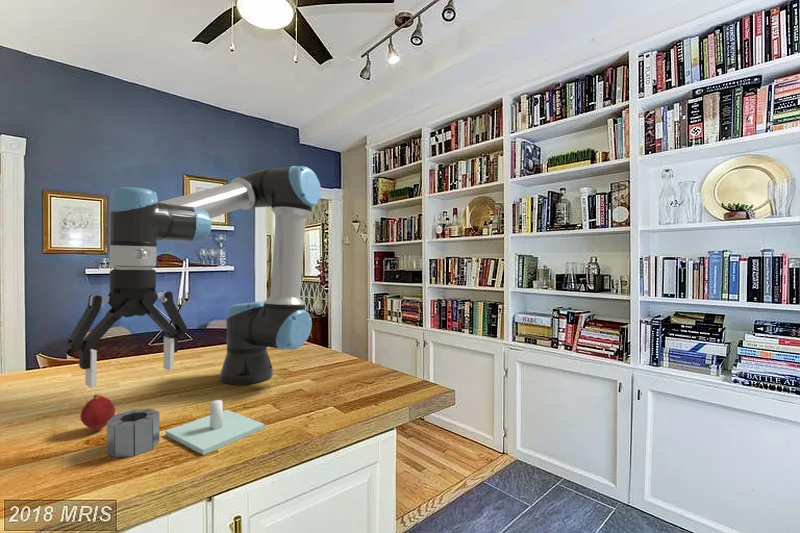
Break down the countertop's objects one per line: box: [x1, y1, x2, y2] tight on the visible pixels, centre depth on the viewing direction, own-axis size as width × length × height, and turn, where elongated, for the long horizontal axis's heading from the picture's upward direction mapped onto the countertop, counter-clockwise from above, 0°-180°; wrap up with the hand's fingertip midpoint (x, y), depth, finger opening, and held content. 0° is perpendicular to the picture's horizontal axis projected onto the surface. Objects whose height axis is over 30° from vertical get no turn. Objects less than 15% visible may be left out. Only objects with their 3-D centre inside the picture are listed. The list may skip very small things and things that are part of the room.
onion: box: [79, 393, 116, 432], centre depth 85 cm, size 6×6×8 cm
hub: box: [106, 408, 160, 459], centre depth 78 cm, size 8×8×6 cm
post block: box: [165, 399, 266, 456], centre depth 85 cm, size 14×14×6 cm
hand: (132, 376), depth 77 cm, fingers open, 13 cm apart
